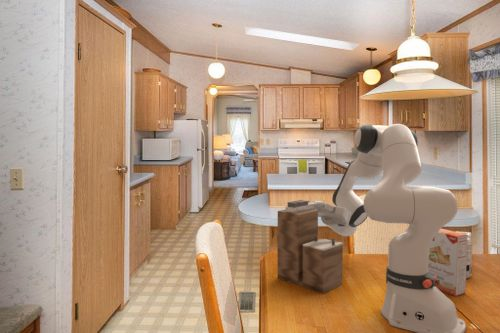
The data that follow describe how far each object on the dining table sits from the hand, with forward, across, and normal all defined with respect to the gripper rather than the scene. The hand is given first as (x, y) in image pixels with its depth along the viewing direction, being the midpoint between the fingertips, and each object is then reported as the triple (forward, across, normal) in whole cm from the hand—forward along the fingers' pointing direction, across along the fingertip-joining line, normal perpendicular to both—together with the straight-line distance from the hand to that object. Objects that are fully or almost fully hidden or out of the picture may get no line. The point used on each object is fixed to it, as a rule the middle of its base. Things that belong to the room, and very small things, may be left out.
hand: (315, 203), depth 150 cm
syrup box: (-54, +41, +1) cm, 68 cm away
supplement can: (-44, +43, +7) cm, 62 cm away
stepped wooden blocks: (-4, +5, +29) cm, 30 cm away
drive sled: (+5, 0, +4) cm, 6 cm away
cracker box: (-28, +43, +16) cm, 54 cm away
